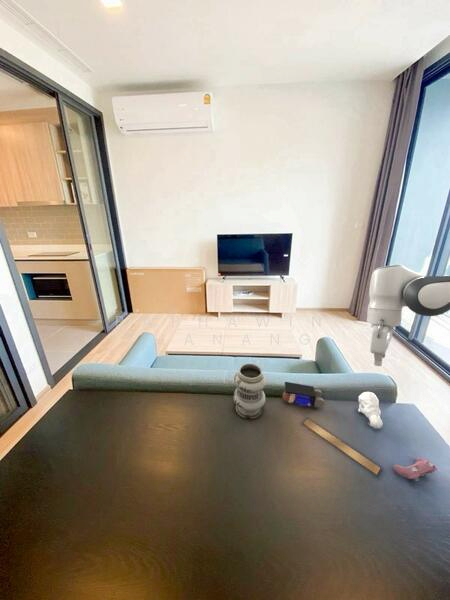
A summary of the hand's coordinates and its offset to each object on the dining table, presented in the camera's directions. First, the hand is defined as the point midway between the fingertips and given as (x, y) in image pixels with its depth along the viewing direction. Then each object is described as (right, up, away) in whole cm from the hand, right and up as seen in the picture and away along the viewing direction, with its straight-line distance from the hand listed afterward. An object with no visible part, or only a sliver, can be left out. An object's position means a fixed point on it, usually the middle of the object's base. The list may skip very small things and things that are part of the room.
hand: (379, 361), depth 77 cm
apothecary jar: (-40, -23, +18) cm, 49 cm away
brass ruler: (-11, -28, +3) cm, 31 cm away
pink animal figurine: (+6, -32, -5) cm, 33 cm away
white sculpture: (+5, -25, +13) cm, 29 cm away
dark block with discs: (-18, -22, +20) cm, 35 cm away
